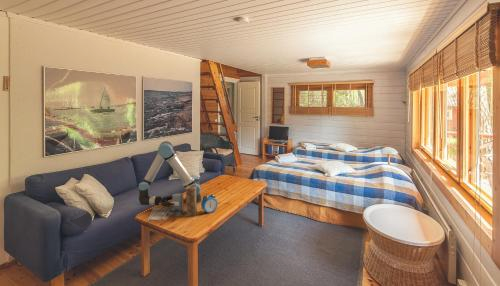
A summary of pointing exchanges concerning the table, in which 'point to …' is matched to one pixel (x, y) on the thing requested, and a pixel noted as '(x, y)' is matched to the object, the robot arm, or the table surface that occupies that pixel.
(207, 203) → the alarm clock
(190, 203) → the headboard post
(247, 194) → the table surface
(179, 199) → the rail end
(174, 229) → the table surface
